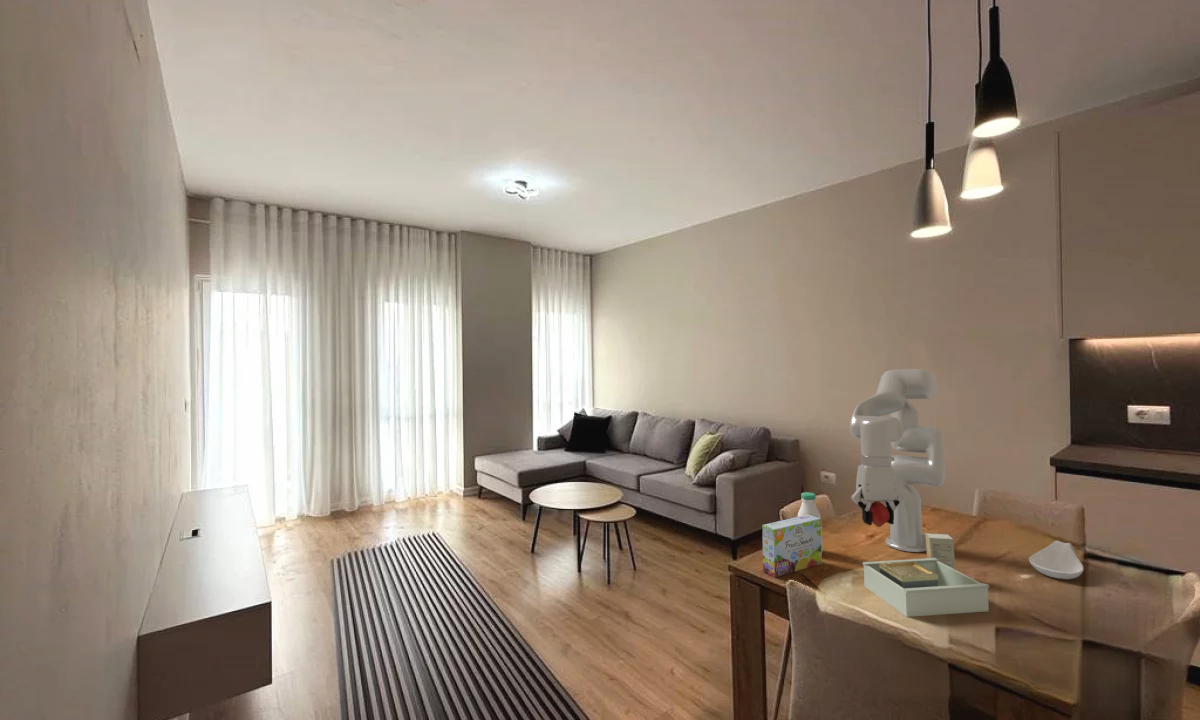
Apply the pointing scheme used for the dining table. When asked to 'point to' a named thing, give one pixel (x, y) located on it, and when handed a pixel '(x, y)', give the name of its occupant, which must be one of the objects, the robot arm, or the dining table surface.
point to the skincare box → (941, 548)
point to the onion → (879, 513)
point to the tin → (909, 574)
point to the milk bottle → (809, 508)
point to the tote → (929, 591)
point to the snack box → (791, 545)
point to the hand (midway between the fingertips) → (878, 522)
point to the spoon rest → (1057, 561)
